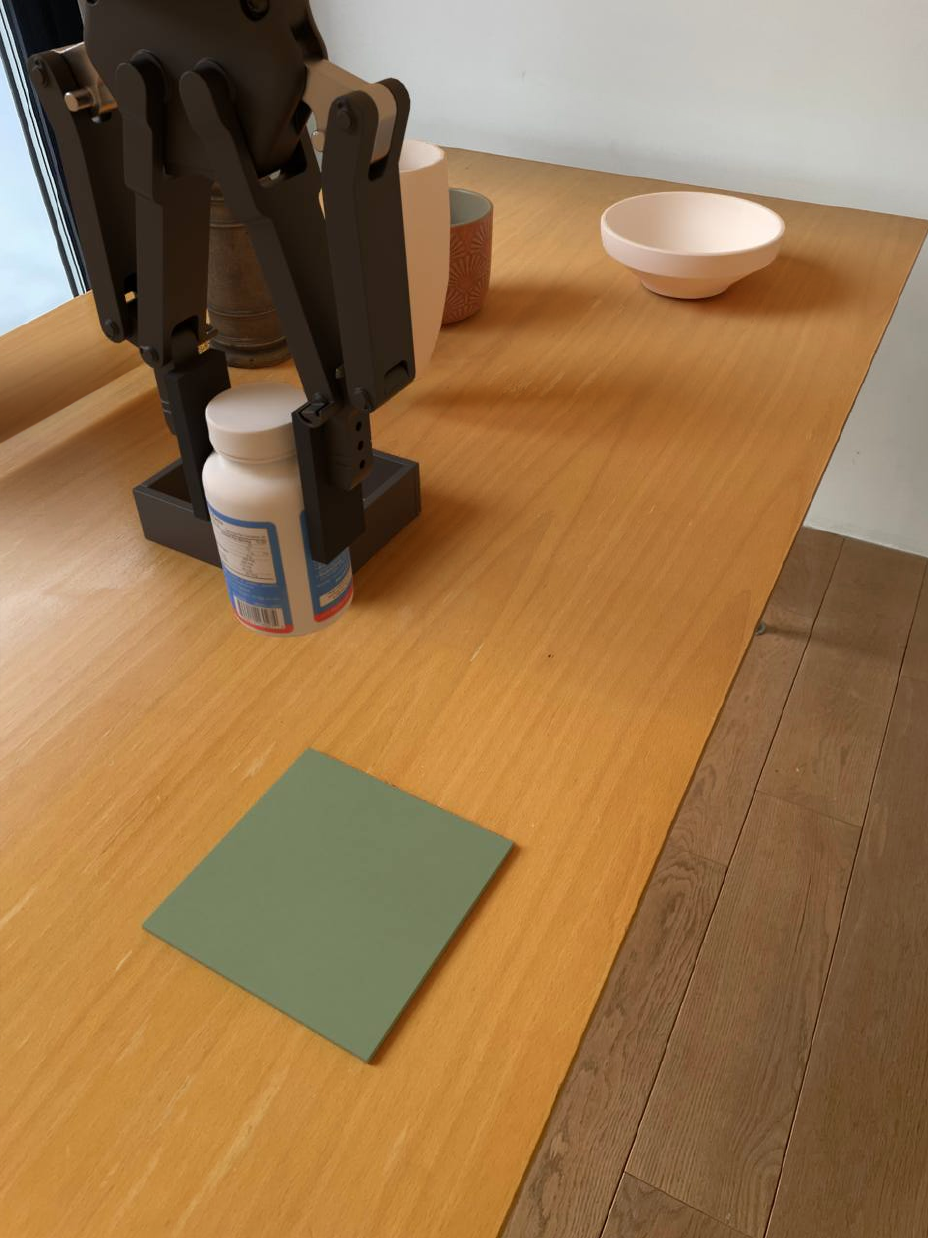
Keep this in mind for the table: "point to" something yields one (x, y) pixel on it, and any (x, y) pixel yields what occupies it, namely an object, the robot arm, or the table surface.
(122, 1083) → the table surface
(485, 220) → the planter
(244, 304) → the container
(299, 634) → the pill bottle
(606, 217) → the bowl
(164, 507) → the frame
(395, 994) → the mat
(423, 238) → the cup
